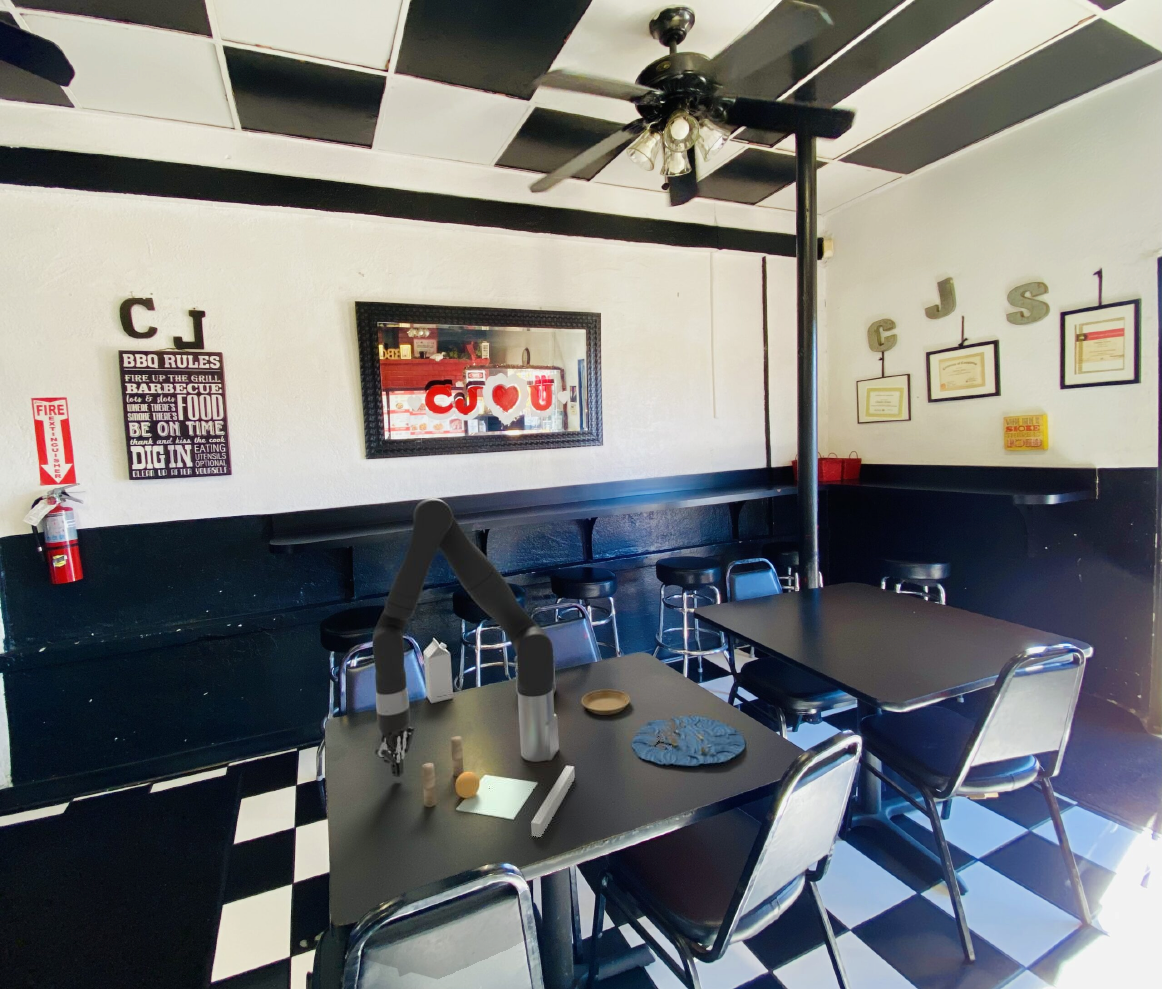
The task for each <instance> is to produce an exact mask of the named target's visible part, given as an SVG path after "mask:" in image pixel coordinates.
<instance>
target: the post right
mask: <svg viewBox="0 0 1162 989" xmlns="http://www.w3.org/2000/svg"><path fill="white" fill-rule="evenodd" d="M462 740H463V739H462V736H460V735H457V736H453V737H451V738H450V747H451V762H452V776H454V777H459V776H460V775H461V774H462V773H464V772H465V771H464V758H463V757H464V755H463V743H462V742H463V741H462Z"/></svg>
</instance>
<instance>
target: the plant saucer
mask: <svg viewBox="0 0 1162 989" xmlns="http://www.w3.org/2000/svg"><path fill="white" fill-rule="evenodd" d="M630 700H631V698H630V696H629V695H628V694H627V693H625V692H623V691H620V690H616V689H598V690H594V691H593V690H592V691H591V692H588V693H587V694H585V695H584V696H582V698H581V704H582V705H583V707H585V709H587V710H588V711H589V712H591V713H593V714H595V715H601V716H609V715H614V714H617V713H620V712H621V711H623V710H624V709H625V708H626V707H627V706H628V704H629V703H630Z"/></svg>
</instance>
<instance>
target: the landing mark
mask: <svg viewBox="0 0 1162 989" xmlns="http://www.w3.org/2000/svg"><path fill="white" fill-rule="evenodd" d="M479 783H480V785H479V789H478V791H477V793H476V794H475V795H474V796H472V797H470V798H464V799H463V800H462V802H461V803H460V804H459V805H458V806H457V807H456V809H455V810H456V811H459V812H465V813H472V814H476V813H477V814H478V815H483V816H489V817H495V818H501V819H507V820H512V821H514V819H515V818H516V817H517V815H518V814H519V813H520V810H521V809H522V807H523V806H524V804H525V803H526V802H527V800H528V798H530V795H531V794H532V793H533V791H534V790H535V788H536V786H537V785H538V784H539V783H538V782H537V781H536V782H535V781H529V780H522V779H515V778H510V777H509V778H508V777H504V776H497V775H489V774H484V775H483V777H482V778H481V779H480V780H479ZM489 788H490V789H489ZM533 789H534V790H533Z"/></svg>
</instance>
